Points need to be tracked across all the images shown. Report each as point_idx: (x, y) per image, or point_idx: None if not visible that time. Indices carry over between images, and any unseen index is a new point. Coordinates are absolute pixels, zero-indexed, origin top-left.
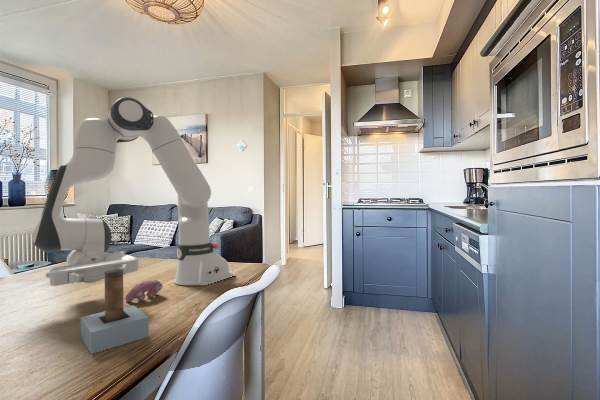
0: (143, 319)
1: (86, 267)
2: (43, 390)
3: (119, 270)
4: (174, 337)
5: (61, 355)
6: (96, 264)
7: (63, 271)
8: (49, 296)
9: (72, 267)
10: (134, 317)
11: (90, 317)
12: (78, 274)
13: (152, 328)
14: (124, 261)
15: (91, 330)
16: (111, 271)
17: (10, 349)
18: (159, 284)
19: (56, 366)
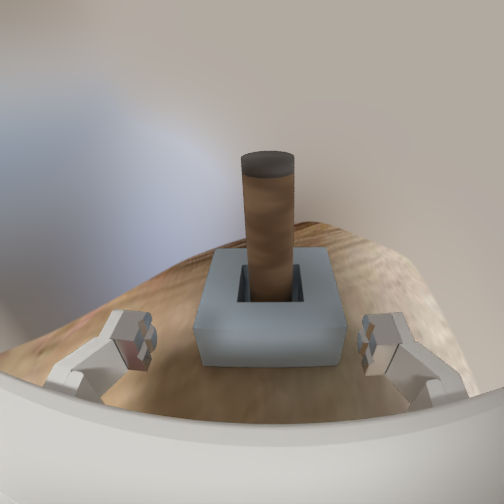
0: (226, 250)
1: (359, 419)
2: (372, 245)
3: (250, 157)
4: (192, 262)
5: (368, 306)
6: (248, 479)
7: (501, 388)
8: None
9: (474, 481)
10: (236, 260)
11: (322, 310)
12: (399, 336)
13: (193, 309)
14: (32, 386)
15: (324, 252)
16: (274, 157)
17: (467, 380)
18: None
19: (369, 280)
